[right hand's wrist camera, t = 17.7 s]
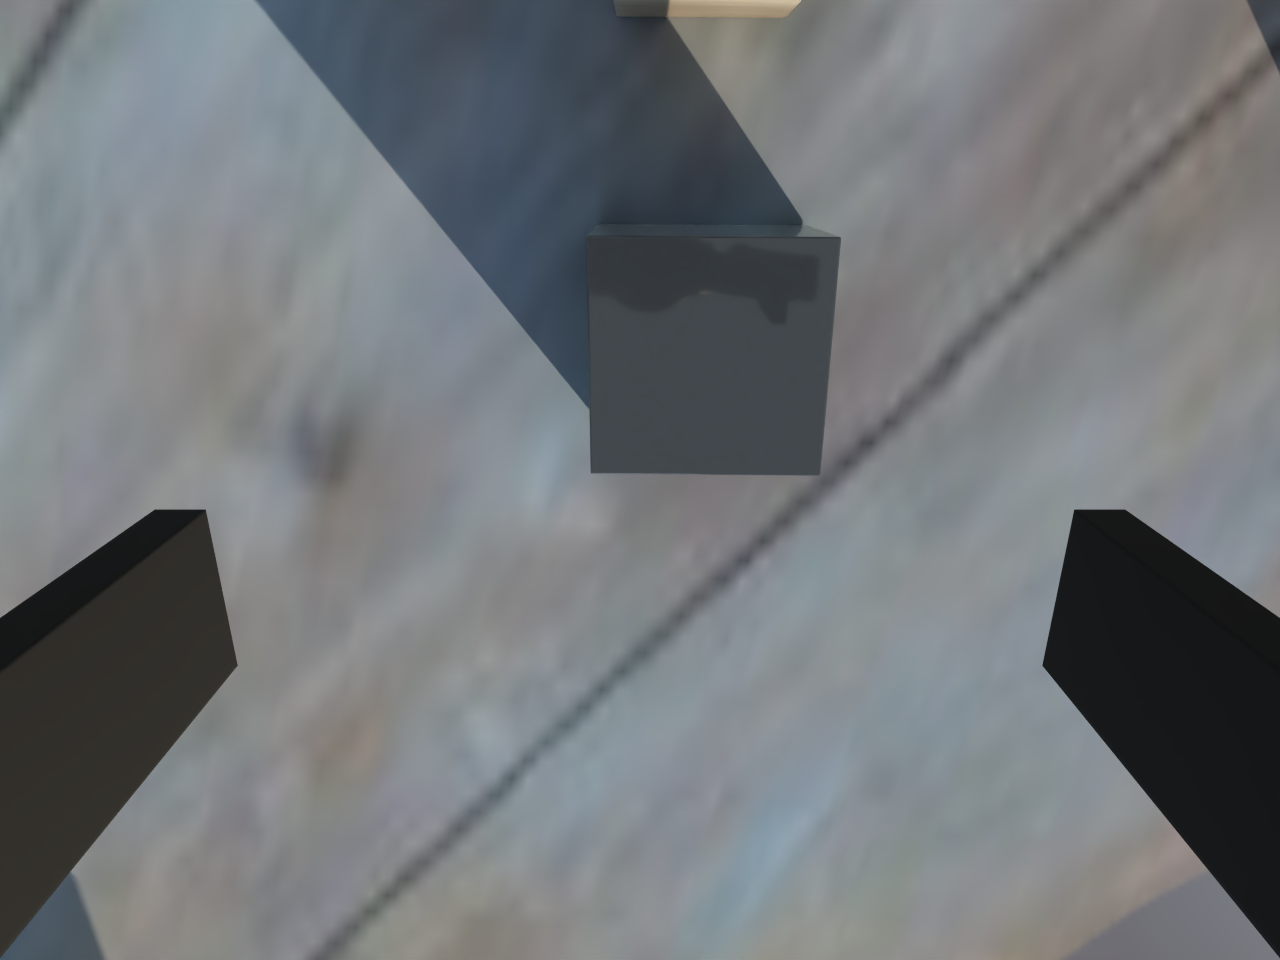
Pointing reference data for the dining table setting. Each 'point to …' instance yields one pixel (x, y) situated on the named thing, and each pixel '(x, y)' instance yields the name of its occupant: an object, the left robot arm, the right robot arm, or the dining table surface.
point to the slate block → (709, 347)
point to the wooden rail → (704, 8)
